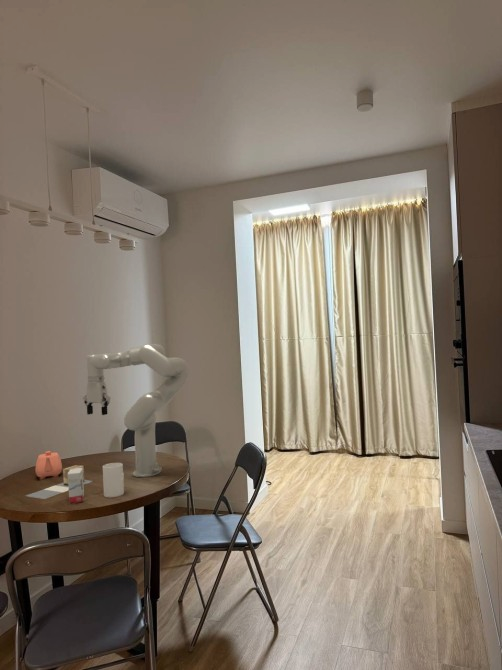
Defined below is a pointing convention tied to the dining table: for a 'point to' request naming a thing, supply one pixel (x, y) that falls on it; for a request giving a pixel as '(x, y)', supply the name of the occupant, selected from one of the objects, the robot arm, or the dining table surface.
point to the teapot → (48, 465)
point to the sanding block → (66, 470)
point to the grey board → (52, 491)
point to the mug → (113, 479)
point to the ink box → (76, 485)
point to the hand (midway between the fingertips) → (97, 414)
